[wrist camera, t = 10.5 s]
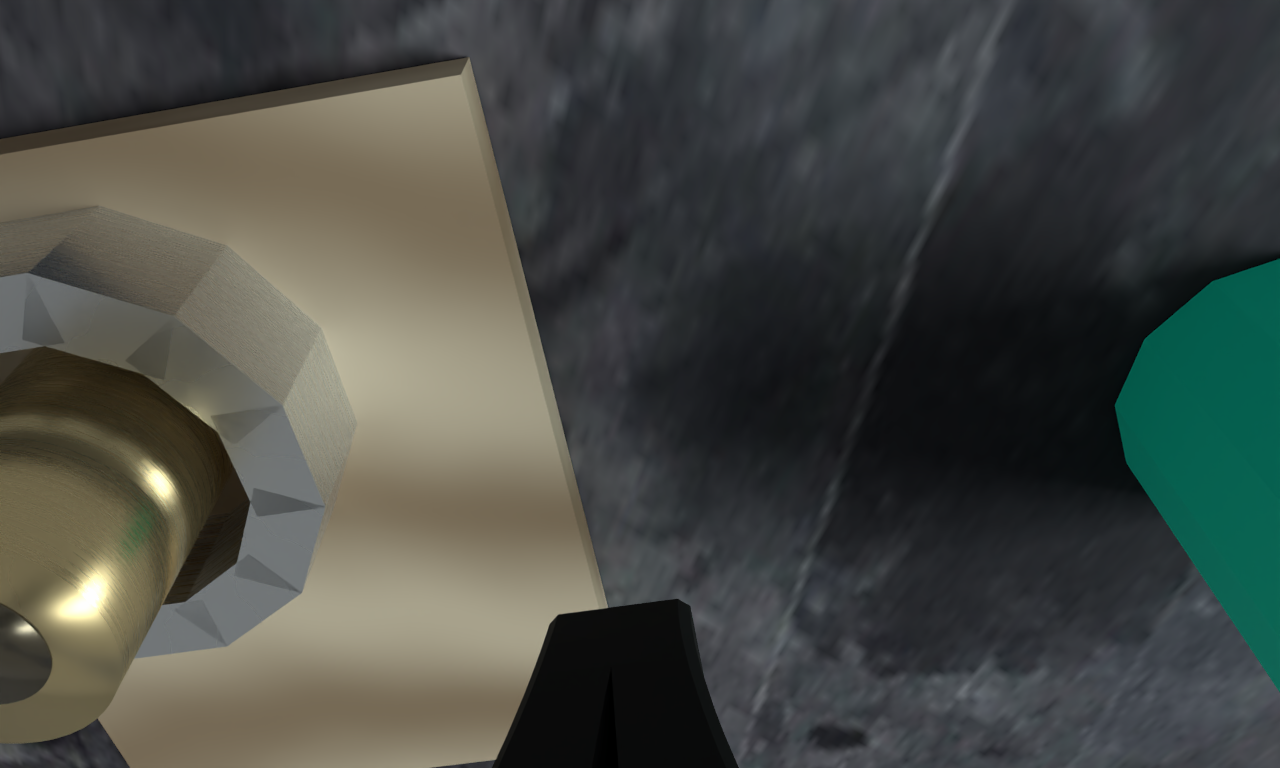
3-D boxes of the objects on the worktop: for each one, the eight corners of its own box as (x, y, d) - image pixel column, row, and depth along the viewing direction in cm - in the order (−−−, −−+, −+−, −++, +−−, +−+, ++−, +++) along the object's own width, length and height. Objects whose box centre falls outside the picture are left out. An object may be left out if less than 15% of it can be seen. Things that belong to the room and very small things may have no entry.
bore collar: (400, 536, 21) (375, 626, 19) (39, 587, 22) (-23, 679, 20) (264, 177, 17) (214, 242, 15) (-176, 252, 18) (-284, 323, 16)
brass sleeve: (279, 474, 20) (164, 727, 15) (87, 505, 21) (-88, 761, 16) (197, 295, 18) (31, 518, 13) (-15, 332, 19) (-257, 564, 14)
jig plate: (633, 709, 26) (633, 743, 25) (167, 766, 27) (152, 800, 26) (469, 57, 17) (460, 74, 16) (-208, 175, 18) (-249, 197, 17)
